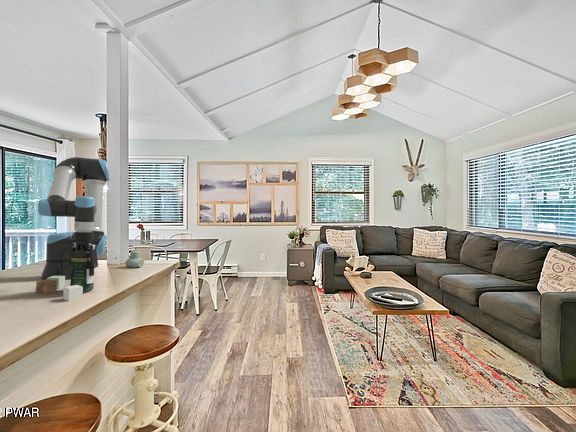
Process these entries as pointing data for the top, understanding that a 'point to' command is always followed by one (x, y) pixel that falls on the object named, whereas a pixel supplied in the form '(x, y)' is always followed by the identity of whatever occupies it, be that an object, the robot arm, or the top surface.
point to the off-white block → (73, 293)
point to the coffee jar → (80, 270)
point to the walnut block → (46, 286)
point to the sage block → (58, 281)
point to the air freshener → (134, 260)
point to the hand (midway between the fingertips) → (82, 281)
